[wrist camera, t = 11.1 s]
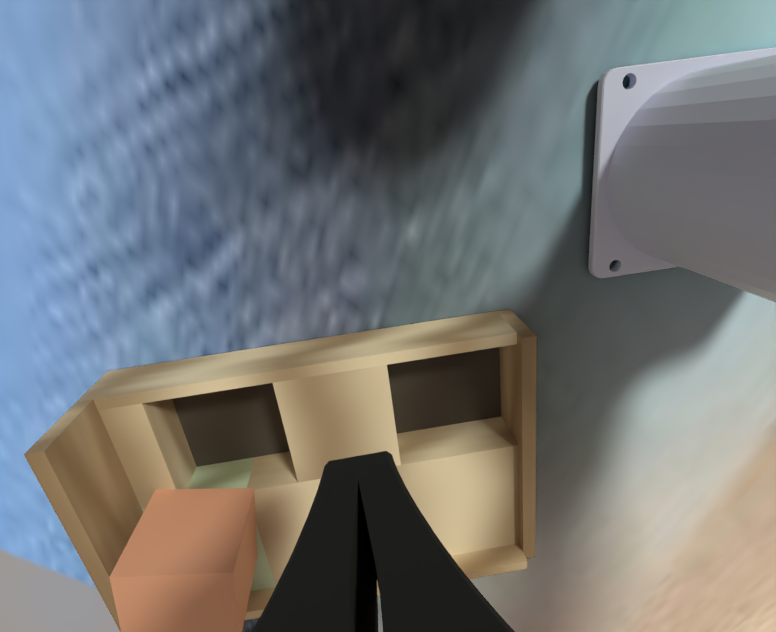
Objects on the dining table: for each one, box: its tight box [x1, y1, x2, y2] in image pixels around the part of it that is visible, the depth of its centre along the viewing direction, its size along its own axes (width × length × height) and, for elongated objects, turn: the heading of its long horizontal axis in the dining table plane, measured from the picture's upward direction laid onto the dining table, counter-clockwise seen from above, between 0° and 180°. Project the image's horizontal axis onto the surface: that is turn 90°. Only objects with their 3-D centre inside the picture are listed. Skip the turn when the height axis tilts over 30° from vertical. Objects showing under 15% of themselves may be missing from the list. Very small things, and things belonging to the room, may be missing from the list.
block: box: [109, 488, 257, 632], centre depth 18 cm, size 4×4×4 cm
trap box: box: [24, 309, 537, 631], centre depth 19 cm, size 18×12×5 cm
